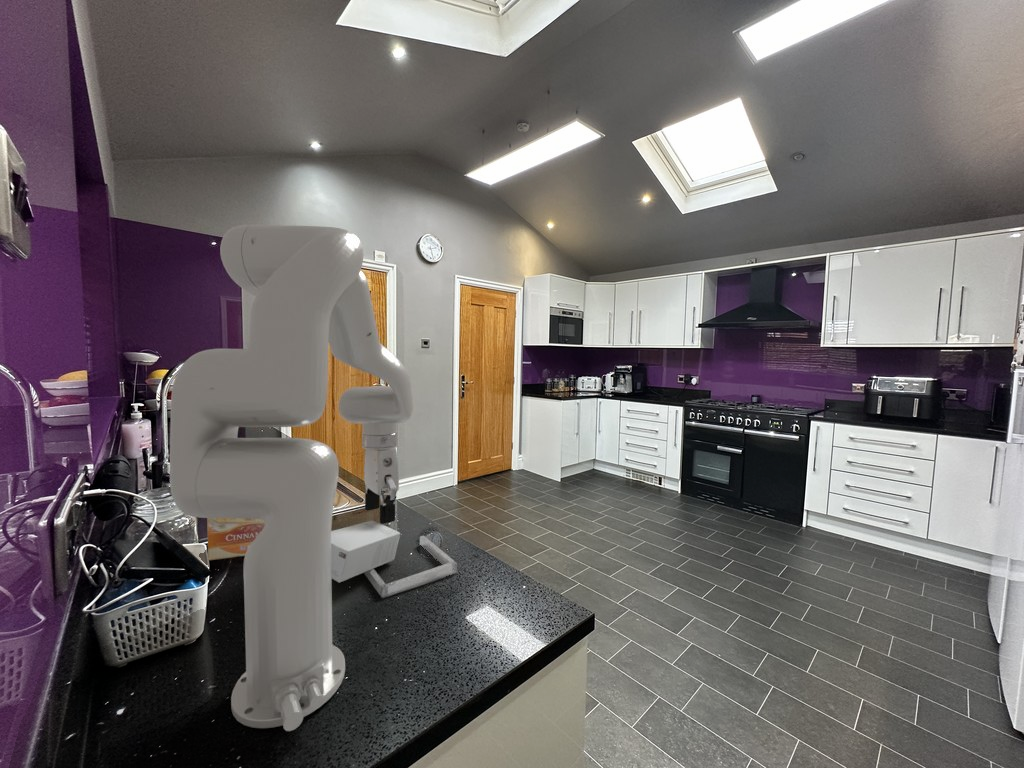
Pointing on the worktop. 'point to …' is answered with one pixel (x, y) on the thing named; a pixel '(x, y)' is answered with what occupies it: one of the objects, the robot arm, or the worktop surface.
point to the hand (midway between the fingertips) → (379, 515)
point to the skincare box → (361, 549)
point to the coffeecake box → (231, 536)
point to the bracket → (418, 579)
